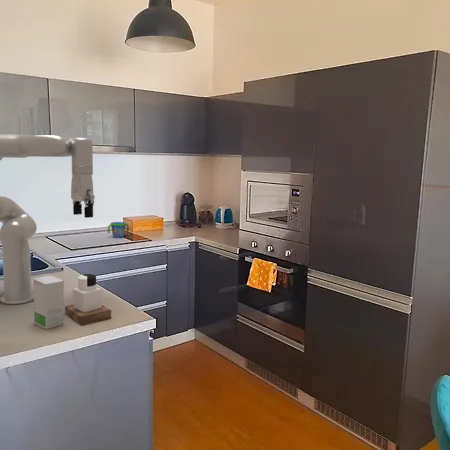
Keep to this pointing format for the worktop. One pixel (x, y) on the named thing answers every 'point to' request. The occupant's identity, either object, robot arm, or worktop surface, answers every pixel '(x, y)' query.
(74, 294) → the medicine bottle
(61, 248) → the worktop surface
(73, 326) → the worktop surface
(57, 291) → the skincare box
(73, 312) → the block
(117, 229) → the snack cup
